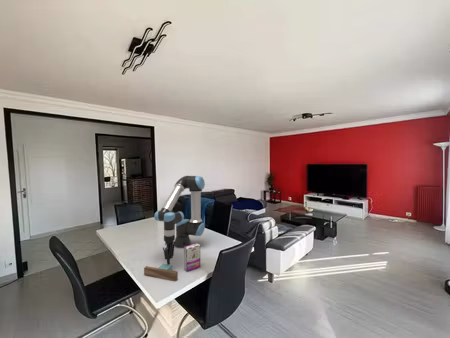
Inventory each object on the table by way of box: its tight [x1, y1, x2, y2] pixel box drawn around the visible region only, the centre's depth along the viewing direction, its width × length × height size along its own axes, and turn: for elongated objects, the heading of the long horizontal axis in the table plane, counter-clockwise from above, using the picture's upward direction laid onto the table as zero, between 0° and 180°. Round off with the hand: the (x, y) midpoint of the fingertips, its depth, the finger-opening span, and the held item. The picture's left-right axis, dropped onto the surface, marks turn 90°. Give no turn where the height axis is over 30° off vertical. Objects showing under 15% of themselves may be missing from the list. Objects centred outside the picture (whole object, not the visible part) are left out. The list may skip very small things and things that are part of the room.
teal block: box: [158, 263, 173, 271], centre depth 139 cm, size 7×7×4 cm
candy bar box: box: [183, 243, 201, 273], centre depth 145 cm, size 11×5×16 cm, turn 126°
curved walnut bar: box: [143, 265, 179, 282], centre depth 133 cm, size 2×24×5 cm, turn 74°
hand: (169, 267), depth 143 cm, fingers closed
